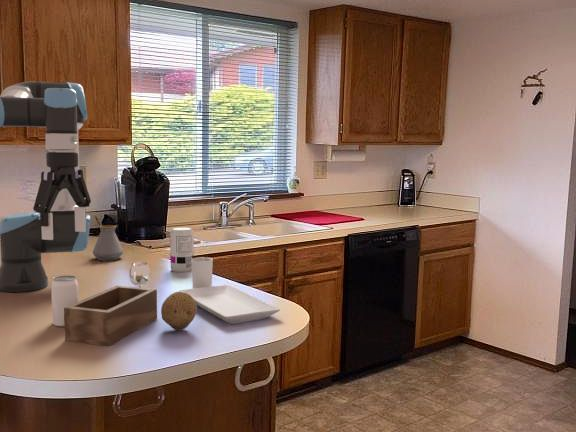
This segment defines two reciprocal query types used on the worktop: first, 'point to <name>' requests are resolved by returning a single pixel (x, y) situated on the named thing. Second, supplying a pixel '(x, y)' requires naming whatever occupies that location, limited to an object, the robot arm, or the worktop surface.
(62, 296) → the can
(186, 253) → the supplement can
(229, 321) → the tray
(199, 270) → the white cup
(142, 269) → the wineglass
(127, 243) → the worktop surface
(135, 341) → the worktop surface
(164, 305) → the natural sponge
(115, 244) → the coffee pot
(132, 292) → the narrow open box
